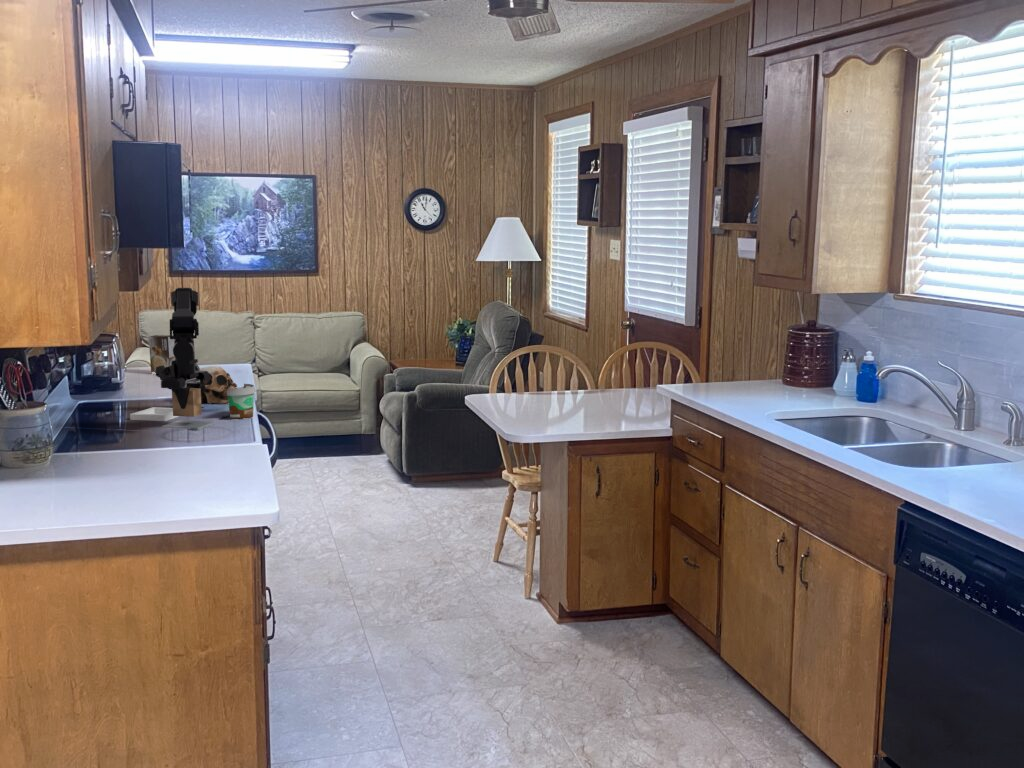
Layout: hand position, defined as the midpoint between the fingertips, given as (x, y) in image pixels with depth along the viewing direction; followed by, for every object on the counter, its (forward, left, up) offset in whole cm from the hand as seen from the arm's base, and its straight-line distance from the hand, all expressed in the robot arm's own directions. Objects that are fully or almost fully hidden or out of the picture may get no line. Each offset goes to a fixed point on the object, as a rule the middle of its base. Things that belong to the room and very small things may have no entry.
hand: (187, 407), depth 300 cm
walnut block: (0, 0, -2) cm, 2 cm away
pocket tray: (-10, -16, -6) cm, 20 cm away
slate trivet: (0, 0, -6) cm, 6 cm away
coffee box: (-102, -70, -6) cm, 124 cm away
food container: (-18, +10, -6) cm, 21 cm away
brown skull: (-44, -14, -6) cm, 47 cm away
